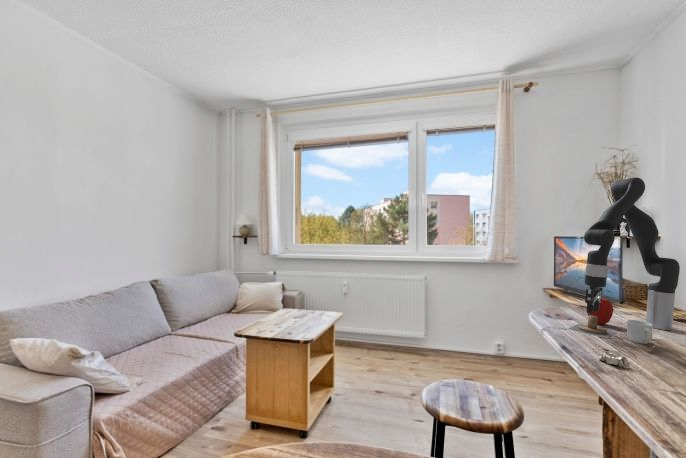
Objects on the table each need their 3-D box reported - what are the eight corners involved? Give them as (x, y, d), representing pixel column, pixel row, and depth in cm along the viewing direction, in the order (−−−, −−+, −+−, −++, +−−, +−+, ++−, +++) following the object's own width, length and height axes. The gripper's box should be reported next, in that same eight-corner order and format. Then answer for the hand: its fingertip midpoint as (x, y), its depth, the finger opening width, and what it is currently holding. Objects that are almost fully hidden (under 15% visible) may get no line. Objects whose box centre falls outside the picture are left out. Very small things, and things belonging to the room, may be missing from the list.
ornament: (633, 367, 109) (634, 356, 109) (625, 371, 106) (626, 359, 106) (604, 358, 116) (604, 347, 116) (595, 361, 112) (596, 350, 112)
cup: (662, 349, 128) (663, 328, 128) (637, 346, 130) (639, 326, 129) (642, 339, 138) (644, 320, 138) (620, 337, 140) (622, 318, 140)
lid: (582, 325, 154) (583, 312, 153) (609, 331, 146) (610, 317, 146) (575, 329, 147) (575, 315, 147) (603, 335, 139) (604, 321, 139)
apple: (612, 329, 152) (615, 298, 152) (585, 324, 158) (587, 294, 158) (611, 324, 161) (613, 295, 160) (585, 319, 167) (587, 291, 166)
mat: (578, 324, 157) (579, 323, 157) (616, 333, 146) (616, 332, 146) (567, 329, 147) (567, 328, 147) (607, 339, 136) (607, 338, 136)
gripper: (590, 272, 153) (587, 308, 154) (580, 274, 145) (577, 311, 145) (611, 275, 148) (607, 312, 148) (601, 277, 139) (598, 316, 139)
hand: (592, 311), depth 146 cm, fingers open, 8 cm apart
